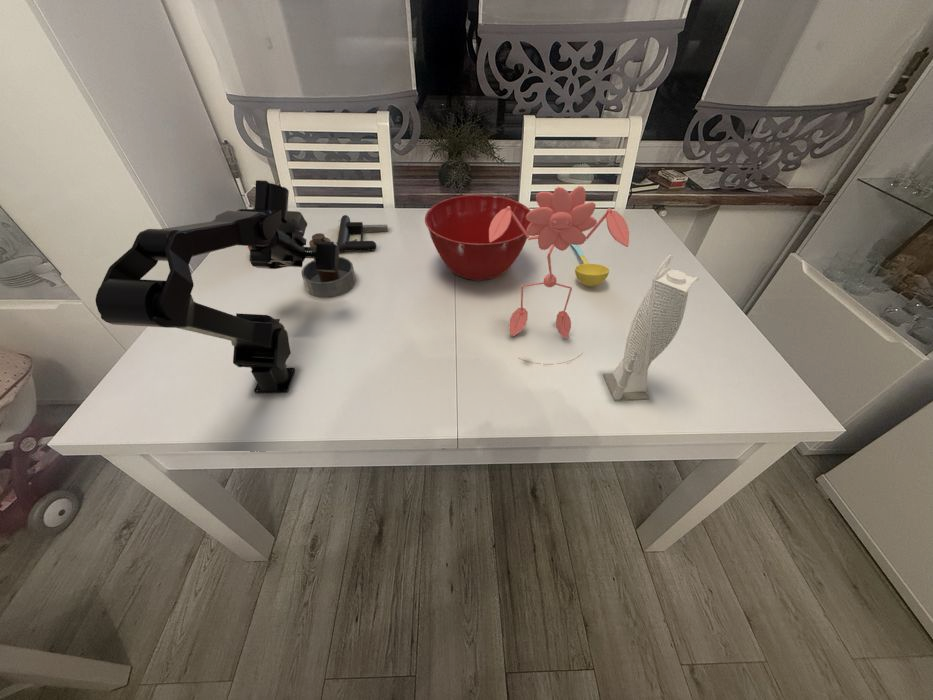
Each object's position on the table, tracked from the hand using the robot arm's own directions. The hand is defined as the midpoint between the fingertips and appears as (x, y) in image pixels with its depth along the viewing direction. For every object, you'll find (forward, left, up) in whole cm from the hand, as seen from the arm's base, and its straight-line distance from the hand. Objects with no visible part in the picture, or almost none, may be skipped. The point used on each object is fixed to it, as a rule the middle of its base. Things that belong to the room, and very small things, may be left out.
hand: (312, 264), depth 93 cm
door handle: (+33, -5, -10) cm, 35 cm away
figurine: (-18, -53, -10) cm, 57 cm away
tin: (+7, -1, -10) cm, 12 cm away
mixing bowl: (+14, -41, -10) cm, 44 cm away
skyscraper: (-31, -69, -10) cm, 76 cm away
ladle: (+14, -71, -10) cm, 73 cm away
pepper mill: (+7, -1, -10) cm, 12 cm away
